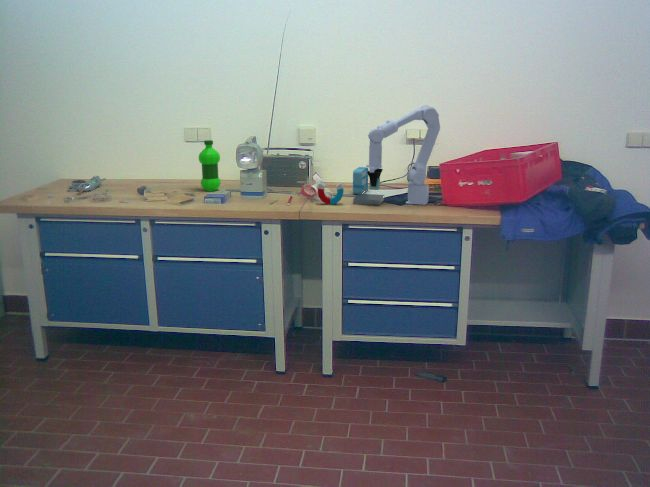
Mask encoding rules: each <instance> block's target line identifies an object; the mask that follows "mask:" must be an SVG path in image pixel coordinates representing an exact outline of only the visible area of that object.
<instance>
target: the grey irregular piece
mask: <svg viewBox="0 0 650 487" xmlns="http://www.w3.org/2000/svg"><path fill="white" fill-rule="evenodd" d="M106 180H107V178H105V177H104V178H100V176H99V175H94V176H92V177H91V178H90V180H83V179H82V180H81V179H76V180H73V181H71V182H70V183H71V184H70V185H69V186H68V188H67V190H68V191H69V192H74V191H78V192H77V193H76V195H79V194H82V193H83V192H85V193H89V192H92V191H93V190H95V189H97V188H98V187H101V185H102V181H106Z"/></svg>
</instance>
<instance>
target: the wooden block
mask: <svg viewBox="0 0 650 487" xmlns="http://www.w3.org/2000/svg"><path fill="white" fill-rule="evenodd" d="M380 186H381V178H379V179H377V184H376V187H371V183H370V182H368V190H371V191H372V190H373V191H374V190H375V191H378V190H380V189H381V187H380Z"/></svg>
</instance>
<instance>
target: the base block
mask: <svg viewBox="0 0 650 487" xmlns="http://www.w3.org/2000/svg"><path fill="white" fill-rule="evenodd" d="M383 196H384V198H383ZM352 200H353V202H352V204H353V205H361V206H362V205H363V206H374V207H375V206H377V207H378V206H380V205H381V204H382V203H383V202H384V201H385V194H376V193H375V194H373V193H372V194H371V193H364V194H356V196H355V197H353V198H352Z"/></svg>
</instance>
